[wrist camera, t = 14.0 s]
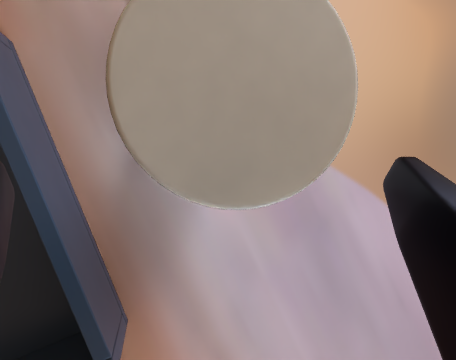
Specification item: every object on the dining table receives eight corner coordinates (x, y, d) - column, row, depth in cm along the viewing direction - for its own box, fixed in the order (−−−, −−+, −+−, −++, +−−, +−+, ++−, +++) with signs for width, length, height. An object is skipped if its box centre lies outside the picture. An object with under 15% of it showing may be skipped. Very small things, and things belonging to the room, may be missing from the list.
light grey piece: (202, 198, 18) (287, 259, 6) (121, 153, 17) (47, 128, 6) (246, 120, 18) (405, 40, 7) (168, 73, 18) (188, -113, 6)
